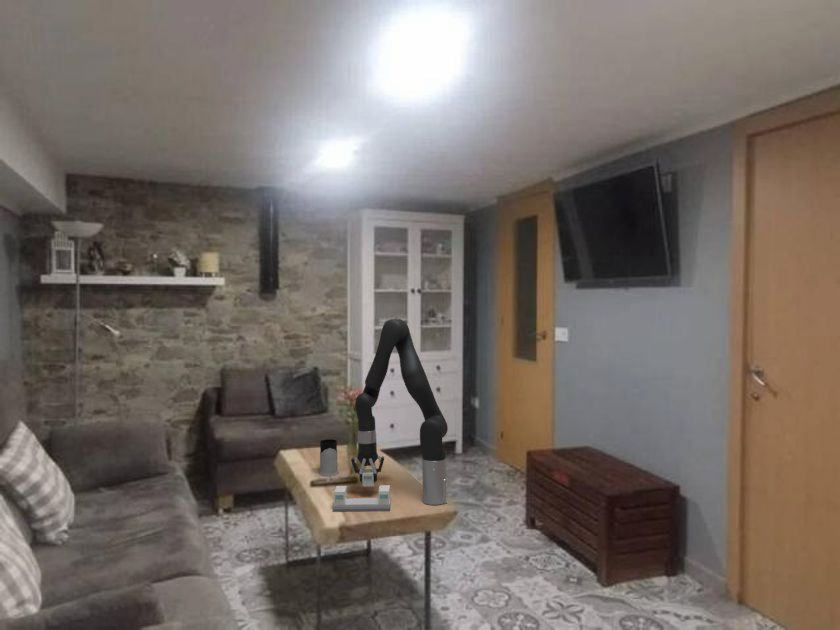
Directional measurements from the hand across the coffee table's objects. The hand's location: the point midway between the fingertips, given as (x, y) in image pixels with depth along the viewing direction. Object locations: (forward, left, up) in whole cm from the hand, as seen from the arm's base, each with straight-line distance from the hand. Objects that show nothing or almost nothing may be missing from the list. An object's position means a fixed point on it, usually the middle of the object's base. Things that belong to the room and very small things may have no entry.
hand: (368, 482), depth 244 cm
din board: (+1, +13, -5) cm, 14 cm away
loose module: (0, 0, -1) cm, 1 cm away
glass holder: (+21, -33, -5) cm, 40 cm away
